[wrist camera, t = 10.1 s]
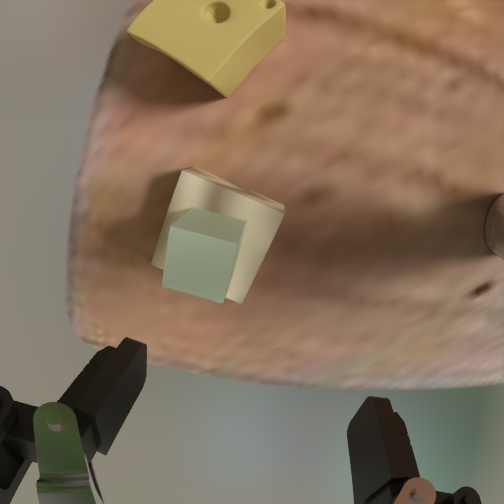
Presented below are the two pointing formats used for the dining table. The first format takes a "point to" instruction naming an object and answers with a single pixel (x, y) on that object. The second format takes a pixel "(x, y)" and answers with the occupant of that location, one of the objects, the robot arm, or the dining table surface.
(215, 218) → the block
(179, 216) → the birch box
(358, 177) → the dining table surface
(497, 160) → the dining table surface
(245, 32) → the cheese
